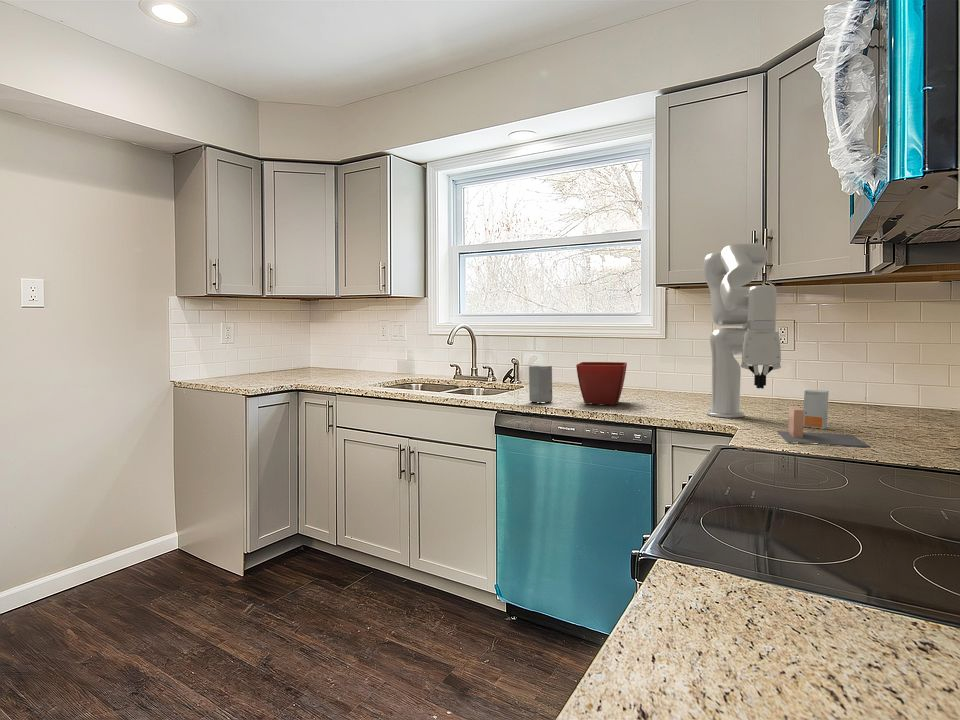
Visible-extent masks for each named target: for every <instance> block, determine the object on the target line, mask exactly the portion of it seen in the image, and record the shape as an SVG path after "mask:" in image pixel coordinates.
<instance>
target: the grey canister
mask: <svg viewBox="0 0 960 720" xmlns="http://www.w3.org/2000/svg"><path fill="white" fill-rule="evenodd" d="M528 379H529V380H528V381H529V382H528V383H529V387H528V389H529V392H528V393H529V395H528V396H529V398H528V399H529V402H530V401H533V402H539V403H541V402H548V401H552V402H553V365H529V366H528Z"/></svg>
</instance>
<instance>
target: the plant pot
mask: <svg viewBox="0 0 960 720" xmlns="http://www.w3.org/2000/svg"><path fill="white" fill-rule="evenodd" d="M627 365H628V362H620V361H618V362H617V361H615V362H614V361H582V362H579V363H578V364H576V366H575V367H576V373H577V374H576V375H577V380H578V385H579V389H580V393H581V396H582V400H583V402H584V404H585V403H592V404H591V405H593V404H612V405H611V406H617V405H618V403H619V401H620V398H621V396H622V391H623V388H624V382H625V380H626V379H625V378H626V373H627V367H628V366H627ZM616 404H617V405H616Z"/></svg>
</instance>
